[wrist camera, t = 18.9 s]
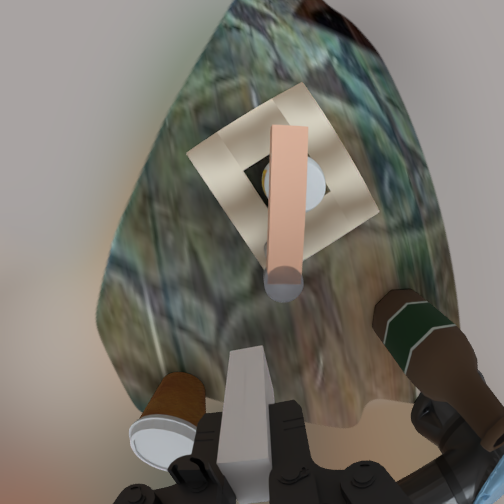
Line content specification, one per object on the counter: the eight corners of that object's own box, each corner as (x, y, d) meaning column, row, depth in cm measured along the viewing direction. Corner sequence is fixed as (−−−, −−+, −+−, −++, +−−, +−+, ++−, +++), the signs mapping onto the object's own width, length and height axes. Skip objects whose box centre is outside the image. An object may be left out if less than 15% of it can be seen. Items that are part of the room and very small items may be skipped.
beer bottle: (363, 301, 36) (470, 441, 13) (415, 276, 36) (546, 380, 12) (376, 347, 38) (460, 484, 15) (424, 323, 37) (527, 435, 14)
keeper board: (373, 209, 33) (418, 226, 23) (270, 274, 35) (279, 316, 25) (299, 86, 30) (321, 53, 20) (189, 154, 31) (163, 147, 21)
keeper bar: (298, 292, 24) (301, 302, 22) (262, 292, 24) (263, 302, 22) (306, 130, 21) (311, 126, 19) (267, 127, 21) (269, 124, 19)
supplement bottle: (280, 146, 31) (294, 136, 22) (320, 176, 32) (348, 179, 23) (250, 186, 33) (252, 192, 23) (290, 215, 33) (307, 233, 24)
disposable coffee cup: (168, 350, 38) (144, 412, 26) (230, 384, 39) (225, 451, 28) (140, 390, 40) (115, 449, 28) (195, 421, 41) (185, 482, 29)
